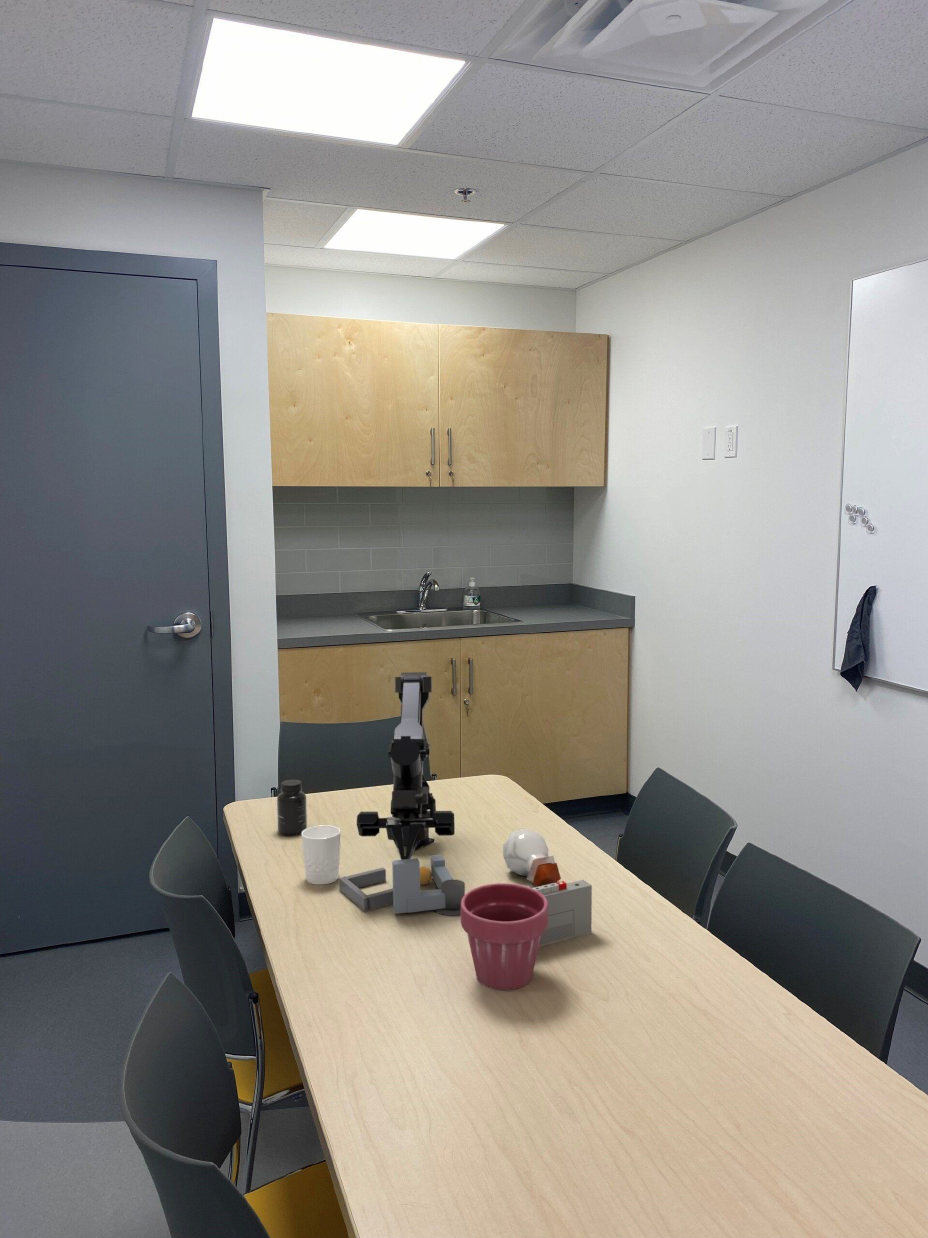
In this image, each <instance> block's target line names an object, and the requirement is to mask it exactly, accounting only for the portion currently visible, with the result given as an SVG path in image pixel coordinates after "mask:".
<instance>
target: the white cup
mask: <svg viewBox="0 0 928 1238" xmlns="http://www.w3.org/2000/svg"><path fill="white" fill-rule="evenodd" d="M301 844H302V857H303V865H304V870H305V881H306V882H307V883H309V884H312V885H316V886H317V885H319V886H320V885H328V884H332V883H334V882H336V881H337V880H339V878H340V877H339V876H340V875H339V872H340V871H339V870H340V860H341V859H340V858H341V857H340V856H341V829H340V828H339V827H337V826H334V825H329V824H323V825H322V824H321V825H313V826H310V827H307V829H305V830H303V831H302V834H301Z"/></svg>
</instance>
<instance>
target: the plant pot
mask: <svg viewBox="0 0 928 1238" xmlns="http://www.w3.org/2000/svg"><path fill="white" fill-rule="evenodd" d="M532 888H533V887H528V886H526V885H522V884H516V883H509V882H506V883H504V882H503V883H501V882H500V883H488V884H484V885H483V884H482V885H480V886H478V887H477V886H476V887H475V888H473V889H471V890H469V891H468V892H465V895H464V897H463V898H462V900H461V915H460V926H461V928H462V929H463V930H464V932H465V933H466V935H467V938H468V944H469V948H470V954H471V958H472V961H473V966H474V967H473V968H474V971H475V976H476V979H477V981H479V983H480V984H482V985H483V986H485V987H487V988H490V989H494V990H499V991H511V990H518V989H520V988H523V987H525V986H526V985H528V984H529V983H530V982H531V981H532V977H533V974H534V970H535V965H536V962H537V957H538V954H539V953H538V952H539V949H540V946H539V945H540V940H541V935H542V933H543V932H544V931H545V930H546V928H547V926H548V902H547V899H546V898H545V896H544V895H543V894H541V893H540V892H538V891H537V890H535V889H532Z"/></svg>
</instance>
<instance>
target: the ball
mask: <svg viewBox="0 0 928 1238" xmlns="http://www.w3.org/2000/svg"><path fill="white" fill-rule="evenodd" d="M432 879H433V877H432V874H431V869H430V868H429V867H426V866H420V885H421V886H423V885H427V884H429V883H430V881H431V880H432Z"/></svg>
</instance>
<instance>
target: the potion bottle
mask: <svg viewBox="0 0 928 1238" xmlns="http://www.w3.org/2000/svg"><path fill="white" fill-rule="evenodd" d="M502 846H503V847H502V855H503V859H504V862H505V865H506V867H507V868H508V869H509V870H510V871H512V872H514V873H516V874H517V875H519V876H524V877H525V876H526V880H528V882H531V883H532V885H533V886H535V887H539V886H543V885H548V884H552V883H557V882H560V880H561V879H562V877H561V874H560V870H559V867H558V864H557V862H555V857H554V855H549V848H548V845H547V843H546V841H545V837H544V836H543V835H541V834H539V833H537V832H536V831H534V830H531V829H526V828H521V829H518V830H516V831H514V832H511V833H509V835H508V837H507V839H506V840H505V842H504V843H503V845H502Z"/></svg>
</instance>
